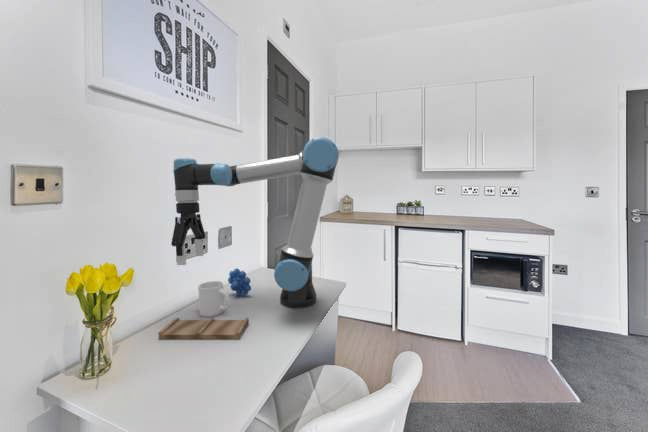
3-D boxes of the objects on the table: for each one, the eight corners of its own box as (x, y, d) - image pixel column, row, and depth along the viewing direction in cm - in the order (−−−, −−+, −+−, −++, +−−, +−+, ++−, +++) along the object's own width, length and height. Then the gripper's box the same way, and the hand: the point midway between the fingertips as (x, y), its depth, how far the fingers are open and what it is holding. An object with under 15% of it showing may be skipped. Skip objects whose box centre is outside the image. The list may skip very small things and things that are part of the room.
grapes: (222, 297, 120) (221, 270, 119) (232, 292, 126) (231, 266, 125) (245, 300, 116) (244, 272, 115) (254, 295, 122) (253, 268, 121)
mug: (221, 320, 98) (220, 290, 97) (194, 315, 102) (192, 287, 101) (236, 310, 106) (235, 283, 106) (210, 306, 110) (209, 280, 109)
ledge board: (248, 324, 95) (248, 317, 95) (239, 339, 85) (239, 332, 85) (176, 324, 95) (176, 317, 95) (158, 339, 85) (158, 332, 85)
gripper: (193, 201, 112) (196, 252, 114) (156, 203, 88) (161, 269, 89) (212, 201, 112) (214, 252, 114) (179, 203, 88) (184, 268, 89)
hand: (191, 260), depth 102 cm, fingers open, 13 cm apart
